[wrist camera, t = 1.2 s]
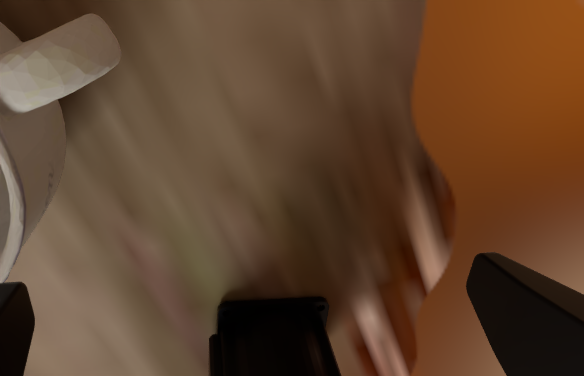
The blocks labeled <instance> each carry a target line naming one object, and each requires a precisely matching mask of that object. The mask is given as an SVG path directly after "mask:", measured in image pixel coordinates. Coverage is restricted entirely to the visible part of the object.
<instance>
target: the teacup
mask: <svg viewBox="0 0 584 376" xmlns="http://www.w3.org/2000/svg"><path fill="white" fill-rule="evenodd" d="M121 53H122V52H121V49H120V46H119V43H118V40H117V39H116V37H115V36H114V34H113V32H112V31H111V29H110V28H109V26H108V25H107V23H106V22H105V21H104V20H103V19H102V18H101V17H100V16H98V15H95V14H92V13H90V14H86V15H83V16H81V17H79V18H77V19H75V20H73V21H70V22H68V23H66V24H64V25H62V26H60V27H58V28H56V29H53V30H51V31H49V32H47V33H45V34H43V35H41V36H40V37H37V38H34V39H32V40H29V41H26V42H21V40H20V39H19V38H18V37H17V36H16V35H15V34H14V33H13V32H11V31H10V30H9V29H8V28H7V27H6V26H5V25H4V24H2V23H1V22H0V283H4V282H5V280H6V279H7V278H8V276H9V273H10V271H11V269H12V267H13V266H14V264H15V262H16V260H17V257H18V255H19V253H20V250H21V248H22V246H23V245H24V244H25V242H26V241H27V239H28V238H29V236H30V235H31V233H32V232H33V230H34V229H35V227H36V225H37V224H38V222H39V221H40V219H41V218H42V216H43V214H44V213H45V211H46V209H47V207H48V205H49V204H50V202H51V200H52V198H53V196H54V194H55V191H56V189H57V187H58V184H59V181H60V178H61V175H62V171H63V168H64V162H65V154H66V129H65V122H64V118H63V114H62V109H61V107H60V104H59V101H58V99H59V98H62V97H64V96H66V95H68V94H70V93H73V92H75V91H76V90H78V89H80V88H82V87H83V86H85V85H87V84H89V83H90V82H92V81H94V80H96V79H97V78H99V77H101V76H103V75H104V74H106V73H107V72H108V71H110V70H111V69H112V68H114V67H115V66H116V65H117V64H118V63H119V61H120V58H121Z"/></svg>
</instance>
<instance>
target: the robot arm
mask: <svg viewBox="0 0 584 376" xmlns="http://www.w3.org/2000/svg"><path fill="white" fill-rule="evenodd" d="M466 289H467V293H468V296H469V298H470V300H471V303H472V305H473V307H474V309H475V312H476V314H477V316H478V318H479V320H480V323H481V325H482V327H483V329H484V331H485V334H486V336H487V338H488V341H489V343H490V345H491V347H492V349H493V351H494V353H495V355H496V357H497V359H498V361H499V363H500V364H501V366H502V368H503V370H504V372H505V373H506V375H507V376H584V295H583V294H581V293H579V292H577V291H575V290H573V289H571V288H569V287H567V286H565V285H563V284H561V283H559V282H556V281H554V280H552V279H550V278H548V277H546V276H544V275H542V274H540V273H538V272H536V271H534V270H532V269H530V268H527V267H526V266H523V265H521V264H519V263H517V262H515V261H513V260H511V259H509V258H507V257H505V256H503V255H501V254H499V253H495V252H490V253H480V254H477V255H476V256H475V258H474V260H473V264H472V267H471V270H470V273H469V276H468V279H467V284H466ZM319 305H322V306H320V307H318V306H319ZM225 310H229V311H228V312H224V311H225ZM328 310H329V304H328V302H327V300H326V298H324V297H311V298H292V299H272V300H253V301H234V302H224V303H222V304H220V305H219V306H218V314H217V334H213V335H212V336H211V337H210V338H209V376H341V373H340V370H339V367H338V364H337V361H336V358H335V355H334V352H333V349H332V346H331V343H330V341H329V338H328V335H327V332H326V329H325V327H326V322H327V316H328ZM34 326H35V316H34V312H33V308H32V305H31V301H30V297H29V294H28V290H27V287H26V285H25V284H24V283H22V282H7V283H0V376H23V375H24V370H25V366H26V362H27V357H28V353H29V349H30V345H31V340H32V336H33V332H34Z"/></svg>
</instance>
